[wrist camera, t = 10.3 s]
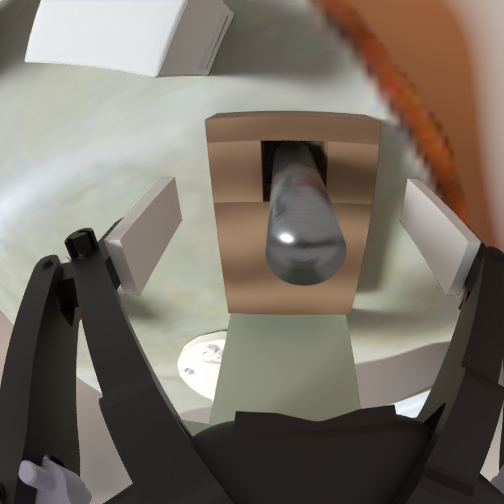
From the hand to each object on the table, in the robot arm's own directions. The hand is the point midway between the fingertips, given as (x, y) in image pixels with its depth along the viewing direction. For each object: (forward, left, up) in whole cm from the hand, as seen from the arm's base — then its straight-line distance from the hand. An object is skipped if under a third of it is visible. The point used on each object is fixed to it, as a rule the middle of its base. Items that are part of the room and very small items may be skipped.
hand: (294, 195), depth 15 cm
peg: (0, 0, -9) cm, 9 cm away
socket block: (+5, 0, -9) cm, 10 cm away
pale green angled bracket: (+14, 0, -9) cm, 16 cm away
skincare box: (-12, -10, -9) cm, 18 cm away
